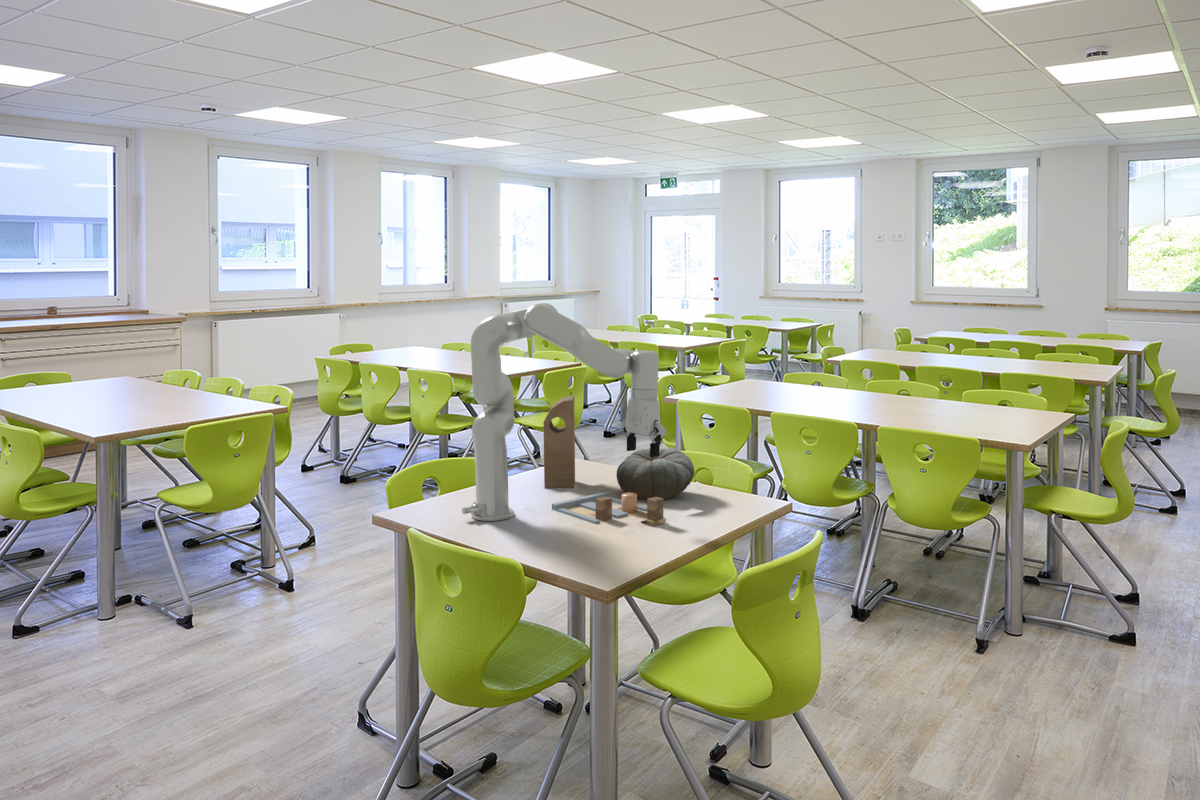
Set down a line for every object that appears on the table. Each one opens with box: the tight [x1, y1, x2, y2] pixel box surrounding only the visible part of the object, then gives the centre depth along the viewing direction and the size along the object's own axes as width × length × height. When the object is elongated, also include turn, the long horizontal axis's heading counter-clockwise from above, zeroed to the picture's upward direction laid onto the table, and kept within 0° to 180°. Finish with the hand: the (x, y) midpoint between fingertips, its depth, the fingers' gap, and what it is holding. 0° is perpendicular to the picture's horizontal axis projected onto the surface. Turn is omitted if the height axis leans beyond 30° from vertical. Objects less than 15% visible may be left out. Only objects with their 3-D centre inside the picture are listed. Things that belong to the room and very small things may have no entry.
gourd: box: [616, 446, 695, 501], centre depth 272 cm, size 25×25×17 cm
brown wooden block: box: [587, 497, 614, 523], centre depth 245 cm, size 5×7×7 cm
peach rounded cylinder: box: [621, 492, 638, 513], centre depth 252 cm, size 5×5×5 cm
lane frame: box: [551, 491, 647, 525], centre depth 254 cm, size 21×20×3 cm
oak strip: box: [616, 497, 667, 527], centre depth 249 cm, size 5×17×7 cm, turn 41°
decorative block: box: [542, 395, 576, 489], centre depth 287 cm, size 10×10×30 cm
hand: (642, 453), depth 243 cm, fingers open, 9 cm apart
